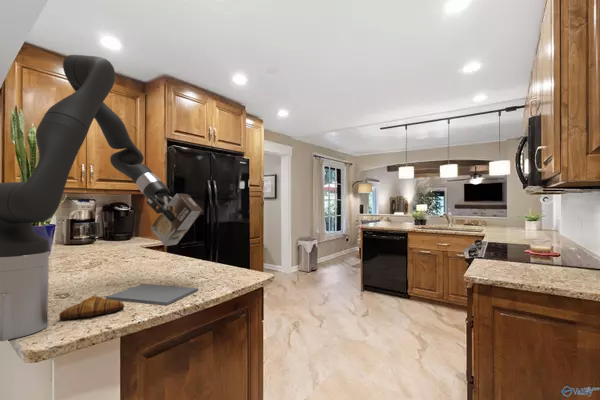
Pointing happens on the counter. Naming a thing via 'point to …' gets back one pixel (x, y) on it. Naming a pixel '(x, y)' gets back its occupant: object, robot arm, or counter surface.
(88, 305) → the croissant
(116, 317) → the counter surface
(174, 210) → the coffee box
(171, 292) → the mat
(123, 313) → the counter surface
